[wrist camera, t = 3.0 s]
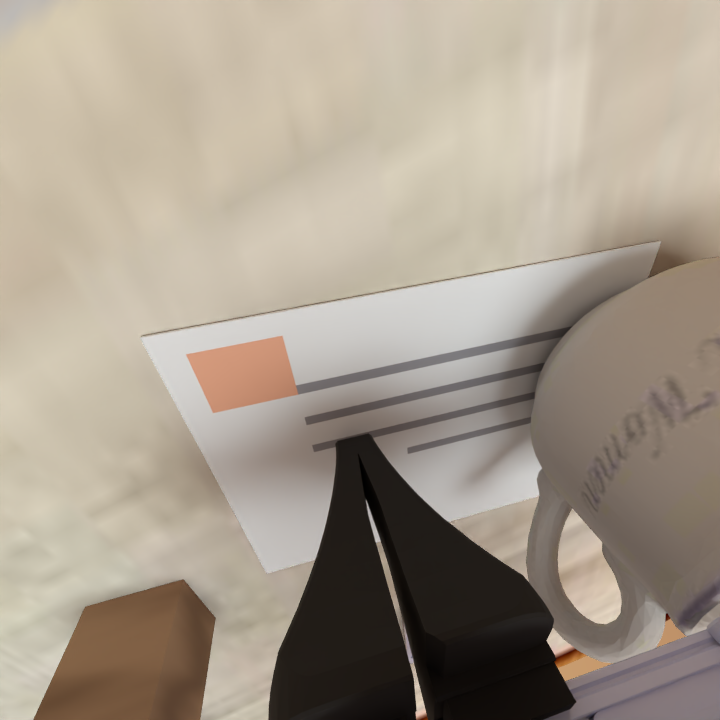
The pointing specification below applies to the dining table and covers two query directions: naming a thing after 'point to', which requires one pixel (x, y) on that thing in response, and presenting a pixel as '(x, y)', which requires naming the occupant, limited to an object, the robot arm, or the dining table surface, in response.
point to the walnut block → (135, 659)
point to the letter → (382, 391)
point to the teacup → (635, 459)
